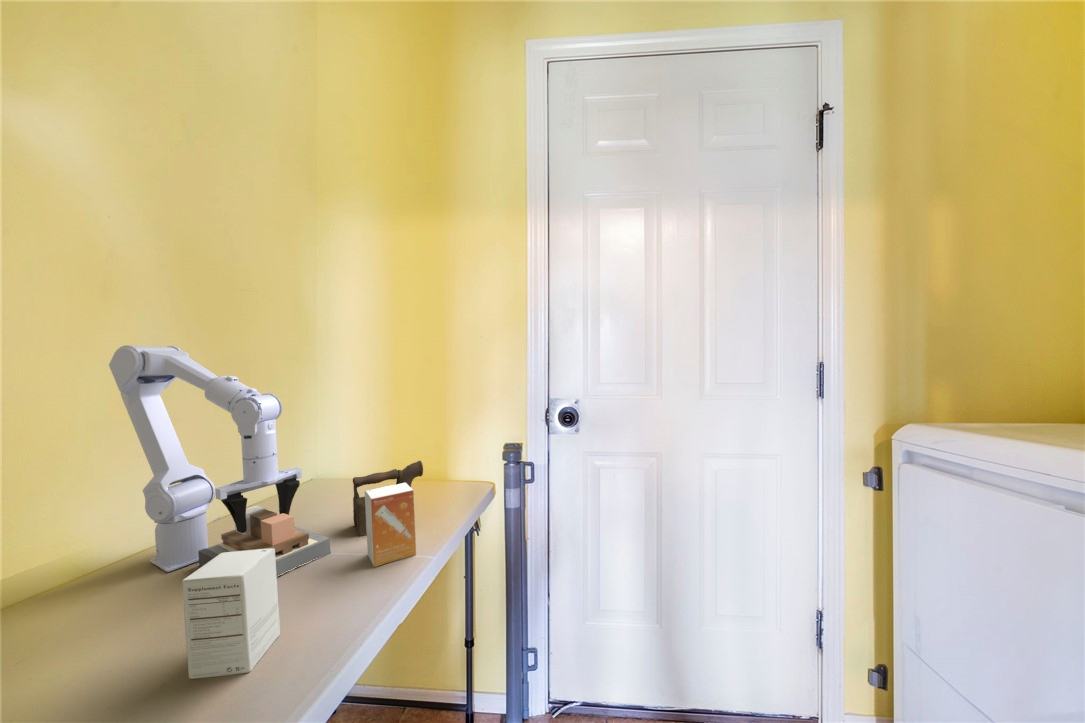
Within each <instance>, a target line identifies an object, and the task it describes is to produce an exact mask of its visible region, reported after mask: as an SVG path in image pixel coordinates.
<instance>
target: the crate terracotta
mask: <svg viewBox="0 0 1085 723" xmlns="http://www.w3.org/2000/svg"><path fill="white" fill-rule="evenodd" d="M295 527H296V526H295V516H293V515H290V514H289V515H287V514H284V513H282V514H280V513H279V514H277V515H276V516H273V517H270V518H267V519H264V520H261V535H262V542H264V543H267V544H269V545H272V546H273V545H276V544H278V543H281V542H284V541H286V540H289V539H291V538H294V537H295Z"/></svg>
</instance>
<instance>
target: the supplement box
mask: <svg viewBox="0 0 1085 723" xmlns="http://www.w3.org/2000/svg"><path fill="white" fill-rule="evenodd" d="M277 579H278V577H277V576H276V560H275V549H272V548H271V549H256V550H246V551H235V552H224V553H221V554H219V555H218V556H216V557H215V558H214V559H212V560H211V561H209V562H208V563H207V564H205V565H204V566H202V567H199V568H198V569H196V570H195V571H193V573H191V574H190V575H188V576H187V577H185V578H184V579H182V581H181V582H182V598H183V612H184V628H185V640H186V641H185V642H186V643H185V645H186V655H187V656H186V657H187V658H186V659H187V671H188V673H187V674H188V679H192V680H194V679H204V678H212V677H214V678H215V677H222V676H231V675H240V674H247V673H250V672H251V671H252V670H253V668H254V667H255V666H256V664H258V662H259V661H260V659H261V658H262V657H263V656H264V655H265V654H266V653H267V651H268V650H269V648H270V647H271V646H272V645H273V643H274V642H275V641H276V640H277V638H278V637H279V636H280V635H281V627H280V626H281V624H280V623H281V622H280V610H279V594H278V581H277Z"/></svg>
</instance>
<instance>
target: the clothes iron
mask: <svg viewBox="0 0 1085 723" xmlns="http://www.w3.org/2000/svg"><path fill="white" fill-rule="evenodd" d="M423 475H424V465H423V462H422V461H421V460H417V461H416V462H412V463H410V464H409V465H406V466H405V467H404V468H403V469H398V470H397V468H394V469H391V470H388V471H383V472H381V471H380V472H375V473H374V472H373V473H372V474H367V475H365V476H355V477H353V478H352V484H353V498H352V506H353V510H352V511H353V512H352V513H353V518H352V519H353V528H354V529H355V528H356V529H357V533H358V535H359V536H362V537H363V536H367V532H366V508H365V496H360V495H359V493H358V492H359V491H358V488H359V487H362V486H365V485H375V484H379V483H382V482H385V481H389V480H396V483H395V485H396V484H401V483H407V484H408V485H409V486H410V487H411V488H412V484H413V483H412V482H413V481H414V479H416V478H418V477H423Z"/></svg>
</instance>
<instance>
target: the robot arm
mask: <svg viewBox="0 0 1085 723" xmlns="http://www.w3.org/2000/svg"><path fill="white" fill-rule="evenodd" d="M108 367H109V369H110V372H111V374H112V376H113V379H114V381H115V384H116V387H117V389H118V391H119V393H120V396H121V399H122V402H123V404H124V406H125V409H126V412H127V414H128V416H129V419H130V421H131V423H132V426H133V429H134V430H135V433H136V435H137V438H138V441H139V443H140V445H141V448H142V450H143V453H144V455H145V458H146V460H147V463H148V464H149V467H150V469H151V471H152V474H153V476H152V477H151V479H150V480H149V481H148V482H147V484H145V486H144V487H143V489H142V493H143V496H144V500H145V503H144V509H145V513H146V514H147V516H148V517H149V518H150V519H151V520H152V521H153V522H154V524H156V525H155V528H154V537H155V538H154V540H155V556H156V557H154V558H153V557H152V558H151V559H150V560H149V562H150V563H152V564H153V565H155V566H156V567H158V568H160V570H162V571H165V572H166V573H169V572H172V571H176V570H178V569H181V568H184V567H186V566H188V565H191V564H193V563H194V564H195V563H196V562H199V555H198V551H199V550H202V549H205V548H209V543H208V542H209V539H208V522H207V521H208V520H207V510H209V509H210V504H211V503H212V502H213V501H214V499H217V500H220V502H222V504H223V505H224V506H225V507H226V509H227V511H228V512H229V513H230V516H231V518H232V520H233V522H234V525H236V528H237V531H238V532H240V533H244V532H246V530H247V524H246V508H247V504H248V498H247V497H244V494H245V493H247V492H251V491H255V490H258V489H262V488H265V487H270V486H272V485H273V486H274V485H275V488H276V492H277V498H278V512H279V514H282V513H284V514H287V515H290V510H291V507H292V503H293V500H294V497H295V495H296V492H297V491H298V489H299V487H300V482H301V481H300V480H298V479H301V478H303V477H302V476H303V473H302V469H301V468H300V467H294V468H289V469H284V470H281V471H279V461H278V460H279V459H278V458H279V457H278V456H279V455H278V443H277V442H278V439H277V437H278V436H277V424H276V423H277V422H276V421H277V419H279V418H280V416H281V414H282V411H283V406H282V402H281V400H280V399H279V397H277V396H276V395H275V394H273V393H271V392H270V393H269V392H268V393H266V392H265V393H261V392H258V389H257V388H255V387H249V386H248V385H246V384H244V383H242V382H241V381H239V377H237V376H236V375H221V376H218V375H216V374H215V373H213V372H212V371H211V370H209V369H208V368H206V367H204V366H203V365H201V364H200V363H199V362H197V361H196V360H194V359H192V358H191V357H190V355H189V353H188V352H187V351H185V350H182V349H181V348H179V347H178V346H174V345H171V346H169V345H168V346H144V345H143V346H142V345H141V346H140V345H139V346H137V345H136V346H134V345H129V344H127V345H122V346H120V347H118V348H117V349H116V351H115V352H114V353H113V355H112V357H111V359H110V362H109V364H108ZM177 378H178V379H180V380H181V381H184V382H186V383H187V384H190V385H192V386H194V387H196V388H198V389H201V390H202V391H203V392H204V397H205V399H206V400H207V401H209V402H210V403H213V404H214V405H216V406H218V407H219V408H221V409H223V410H225V411H226V412H228V413H230V414H231V418H232V421H233V422H234V423H235V424H236V426H237V432H238V433H239V435H240V440H241V441H240V442H241V458H242V459H241V461H242V475H243V476H242V477H243V479H241V480H237V481H235V482H231V483H229V484H225V485H223V486H219V487H215V484H214V482H213V481H212V480H211V479H210V478H209V477H208V476H207V475H206V473H205V470H204V469H203V468H201V467H199V466H196V465H192V464H190V463H189V461H188V458H187V457H186V454H185V452H184V450H183V447H182V445H181V441H180V440H179V438H178V434H177V433H176V430H175V427H174V425H173V423H172V421H171V418H170V415H169V413H168V411H167V409H166V406H165V403H164V400H163V399H162V397H161V394H162V393H163V391H164V390H166V389H167V388H169V387H170V385H172V383H173V382H174V381H175V380H176V379H177ZM243 493H244V494H243Z"/></svg>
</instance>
